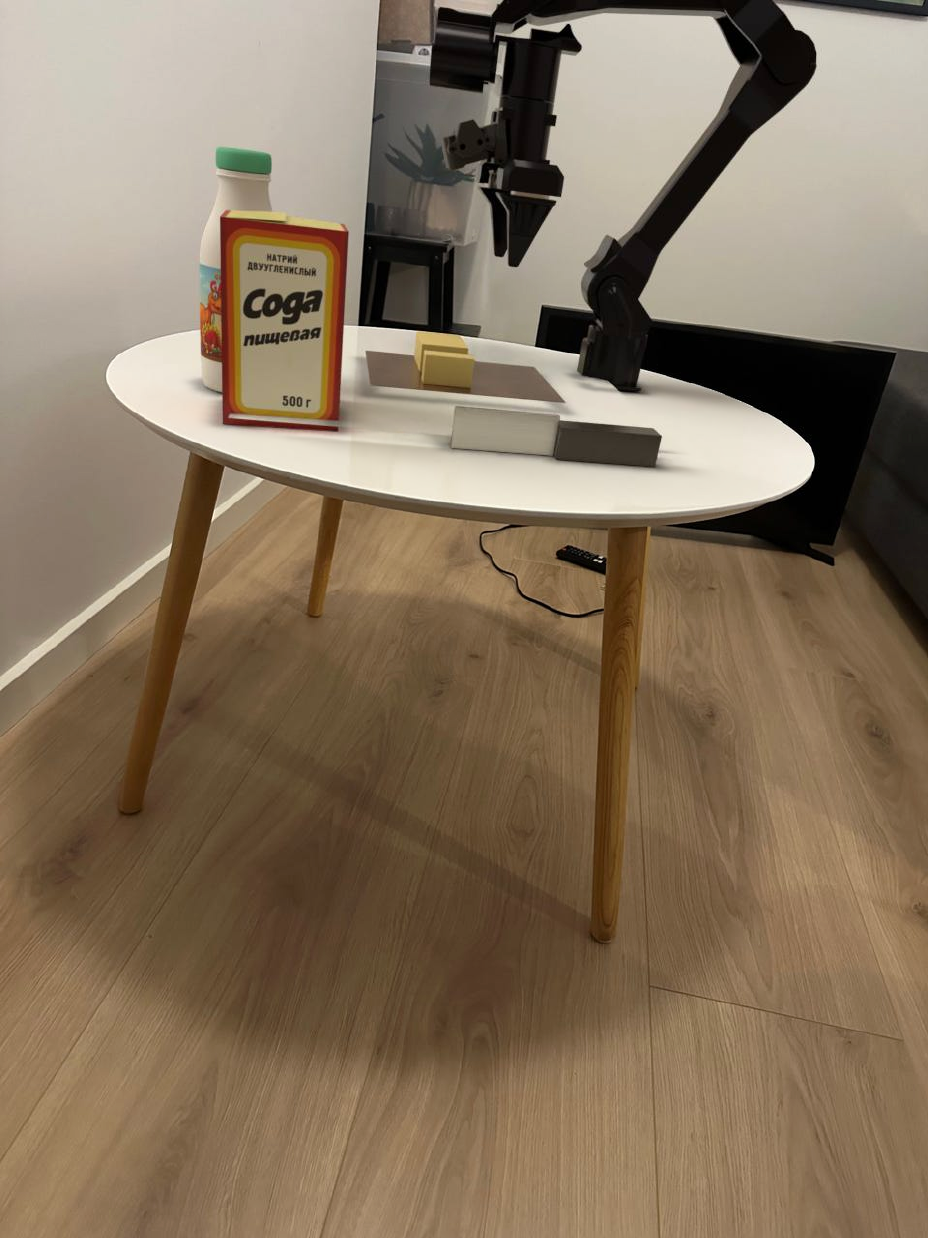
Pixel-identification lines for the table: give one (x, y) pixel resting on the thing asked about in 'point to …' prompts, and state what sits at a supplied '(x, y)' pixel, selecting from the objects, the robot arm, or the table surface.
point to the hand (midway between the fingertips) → (505, 261)
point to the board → (484, 382)
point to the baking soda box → (282, 317)
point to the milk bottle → (238, 190)
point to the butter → (437, 345)
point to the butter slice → (447, 369)
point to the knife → (553, 437)
